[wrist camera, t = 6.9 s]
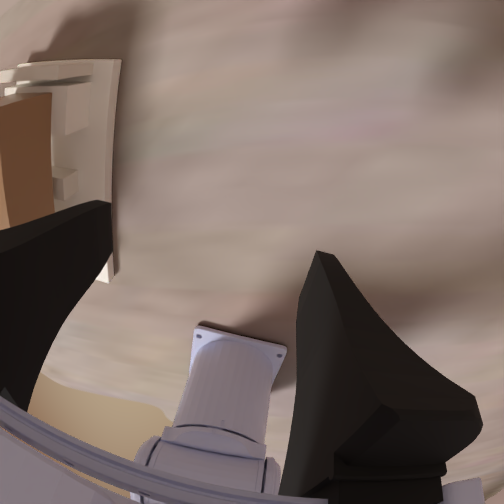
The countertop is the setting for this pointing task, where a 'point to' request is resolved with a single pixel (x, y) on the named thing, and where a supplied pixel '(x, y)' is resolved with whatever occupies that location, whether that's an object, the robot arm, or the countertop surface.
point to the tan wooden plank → (25, 158)
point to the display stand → (76, 127)
